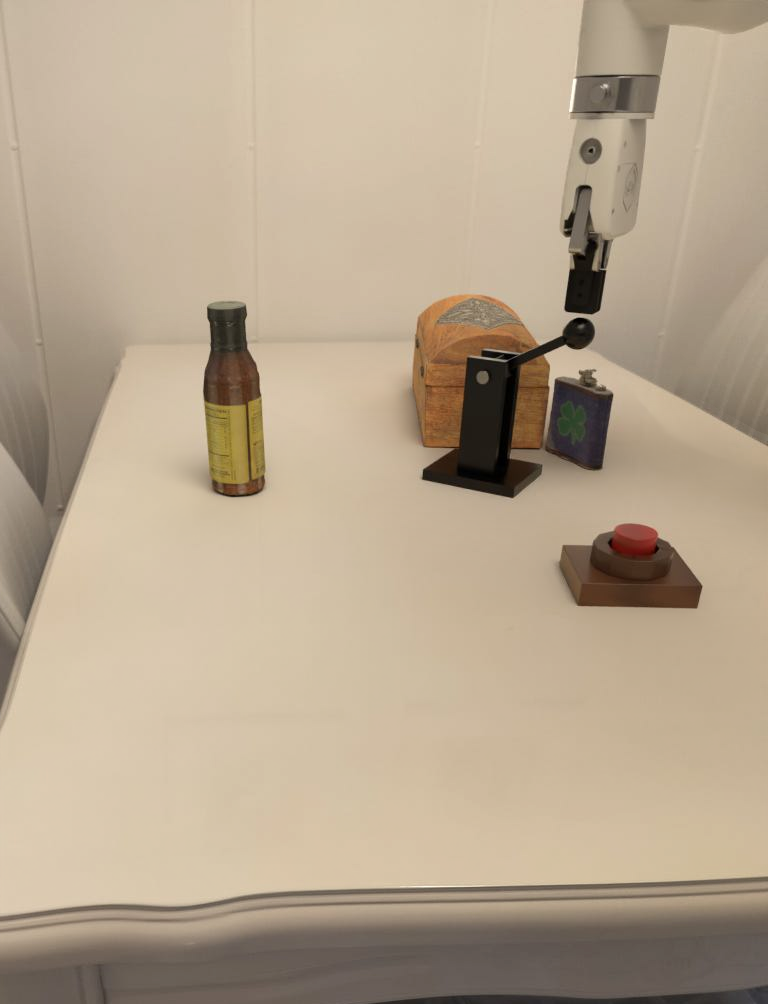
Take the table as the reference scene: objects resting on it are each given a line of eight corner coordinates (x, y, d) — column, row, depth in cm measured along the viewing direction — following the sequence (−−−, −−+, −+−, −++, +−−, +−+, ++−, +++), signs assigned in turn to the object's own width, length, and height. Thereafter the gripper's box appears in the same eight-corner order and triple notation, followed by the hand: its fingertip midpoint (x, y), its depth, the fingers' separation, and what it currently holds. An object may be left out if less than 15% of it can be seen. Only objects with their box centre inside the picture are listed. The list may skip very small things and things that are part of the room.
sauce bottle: (250, 475, 107) (246, 295, 97) (275, 492, 102) (273, 305, 92) (199, 484, 104) (188, 301, 94) (222, 502, 99) (213, 311, 89)
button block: (668, 568, 85) (677, 528, 83) (697, 609, 78) (708, 566, 76) (559, 566, 85) (565, 526, 83) (577, 606, 78) (585, 563, 76)
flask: (540, 448, 115) (552, 361, 109) (559, 445, 116) (572, 359, 110) (590, 471, 107) (605, 379, 102) (609, 468, 108) (626, 376, 103)
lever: (603, 338, 94) (592, 308, 93) (594, 344, 92) (582, 314, 91) (493, 387, 102) (482, 360, 102) (481, 393, 100) (470, 366, 100)
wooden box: (550, 450, 114) (566, 335, 107) (416, 447, 115) (424, 333, 108) (519, 388, 140) (531, 292, 133) (410, 386, 141) (416, 291, 134)
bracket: (541, 474, 107) (558, 353, 100) (513, 498, 100) (529, 370, 93) (454, 457, 112) (464, 341, 105) (421, 479, 105) (430, 356, 99)
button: (647, 541, 81) (651, 523, 80) (659, 558, 78) (663, 539, 77) (606, 540, 81) (609, 522, 80) (616, 558, 78) (620, 539, 77)
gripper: (632, 100, 76) (596, 329, 85) (675, 101, 87) (639, 304, 96) (545, 101, 80) (519, 320, 89) (596, 102, 91) (569, 297, 100)
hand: (581, 311), depth 92 cm, fingers closed
